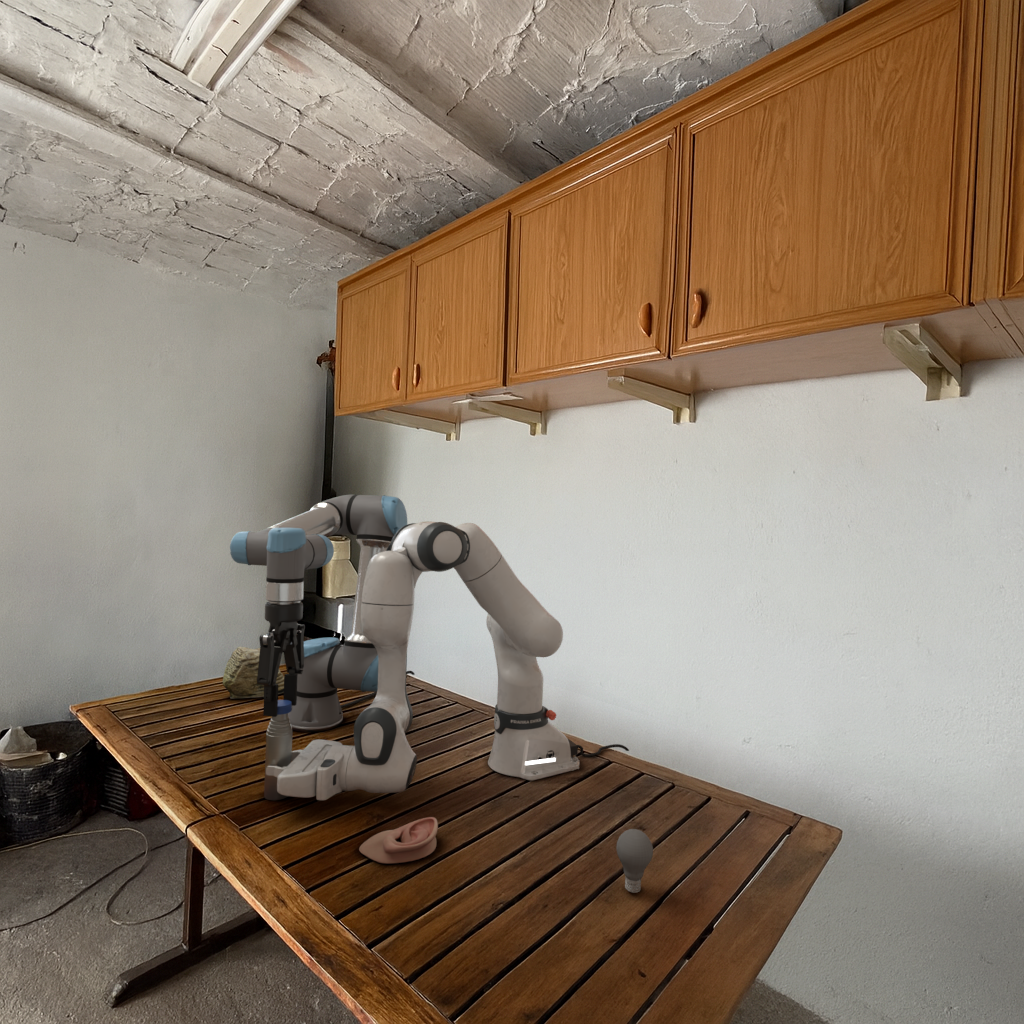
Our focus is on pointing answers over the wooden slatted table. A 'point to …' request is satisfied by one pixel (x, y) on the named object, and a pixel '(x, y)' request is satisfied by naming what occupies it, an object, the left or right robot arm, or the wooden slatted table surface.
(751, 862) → the wooden slatted table surface
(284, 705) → the cap
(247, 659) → the fossil
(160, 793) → the wooden slatted table surface
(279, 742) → the bottle
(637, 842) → the light bulb
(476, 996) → the wooden slatted table surface
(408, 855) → the anatomical model
